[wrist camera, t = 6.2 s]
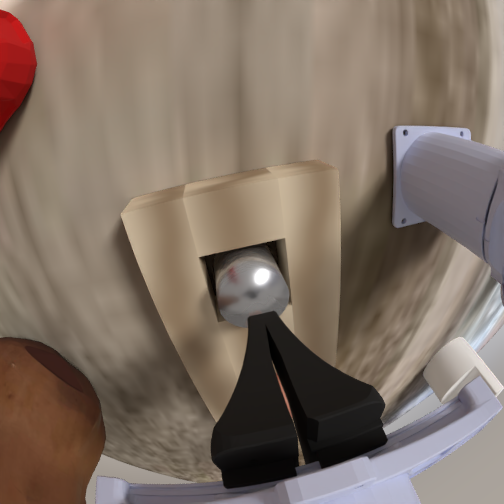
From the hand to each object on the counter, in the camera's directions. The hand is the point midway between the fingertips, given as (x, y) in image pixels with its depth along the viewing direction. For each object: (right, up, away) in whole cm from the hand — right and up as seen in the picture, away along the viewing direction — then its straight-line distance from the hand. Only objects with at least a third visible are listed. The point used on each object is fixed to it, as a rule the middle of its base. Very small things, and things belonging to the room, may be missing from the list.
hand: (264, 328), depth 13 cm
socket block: (0, -2, +9) cm, 9 cm away
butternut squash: (-21, -7, +8) cm, 23 cm away
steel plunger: (-1, +3, +6) cm, 7 cm away
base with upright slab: (+30, -13, +21) cm, 39 cm away
